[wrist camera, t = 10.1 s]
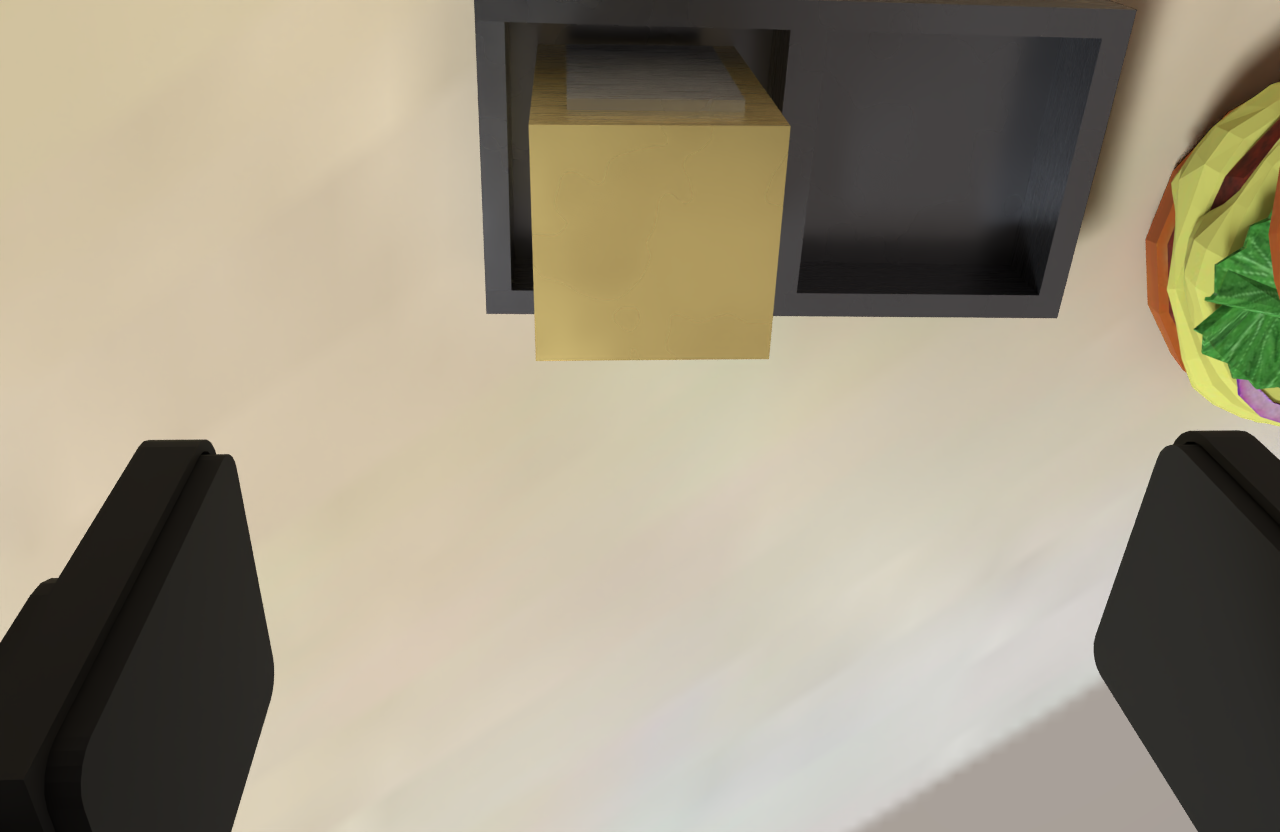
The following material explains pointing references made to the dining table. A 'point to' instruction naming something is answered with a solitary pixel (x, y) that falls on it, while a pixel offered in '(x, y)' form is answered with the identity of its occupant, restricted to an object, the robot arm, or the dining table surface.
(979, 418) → the dining table surface
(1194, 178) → the cheeseburger
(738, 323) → the gold block
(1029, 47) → the tray
